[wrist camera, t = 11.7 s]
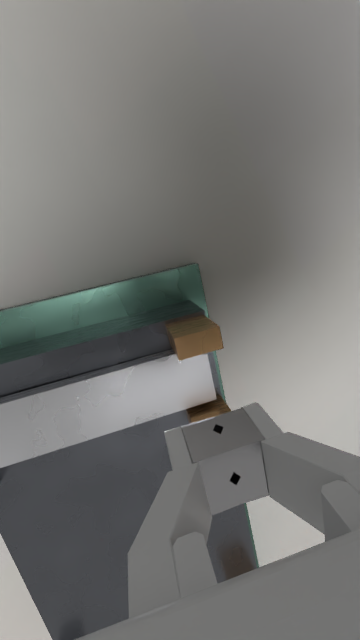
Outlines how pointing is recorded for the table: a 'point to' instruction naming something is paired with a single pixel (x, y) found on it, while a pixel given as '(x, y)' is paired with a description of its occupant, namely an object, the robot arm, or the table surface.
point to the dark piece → (103, 447)
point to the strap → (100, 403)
